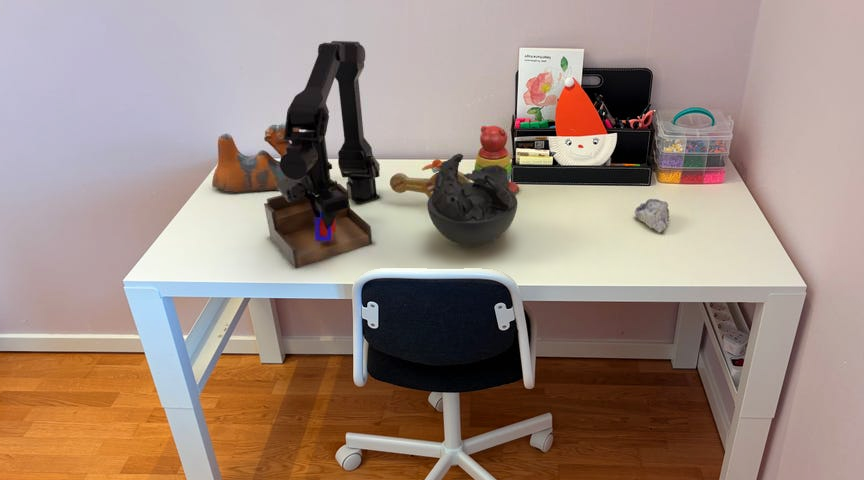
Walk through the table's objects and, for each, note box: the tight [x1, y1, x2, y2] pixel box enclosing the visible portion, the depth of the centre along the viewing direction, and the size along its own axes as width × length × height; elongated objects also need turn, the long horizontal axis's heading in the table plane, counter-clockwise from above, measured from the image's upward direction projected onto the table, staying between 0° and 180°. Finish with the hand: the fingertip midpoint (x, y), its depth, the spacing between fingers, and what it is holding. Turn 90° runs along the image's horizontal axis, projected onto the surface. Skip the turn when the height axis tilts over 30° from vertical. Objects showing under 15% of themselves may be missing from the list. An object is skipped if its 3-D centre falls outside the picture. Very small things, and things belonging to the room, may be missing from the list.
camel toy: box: [211, 121, 300, 194], centre depth 190 cm, size 25×13×17 cm, turn 82°
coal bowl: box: [426, 153, 518, 247], centre depth 162 cm, size 20×20×19 cm
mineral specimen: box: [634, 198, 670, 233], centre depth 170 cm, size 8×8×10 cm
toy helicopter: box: [389, 158, 471, 199], centre depth 178 cm, size 8×21×14 cm, turn 72°
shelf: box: [263, 180, 373, 269], centre depth 166 cm, size 19×16×10 cm
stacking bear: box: [474, 125, 520, 195], centre depth 183 cm, size 11×10×18 cm
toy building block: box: [315, 213, 336, 241], centre depth 162 cm, size 4×4×8 cm
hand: (323, 224), depth 163 cm, fingers closed on toy building block, 5 cm apart
